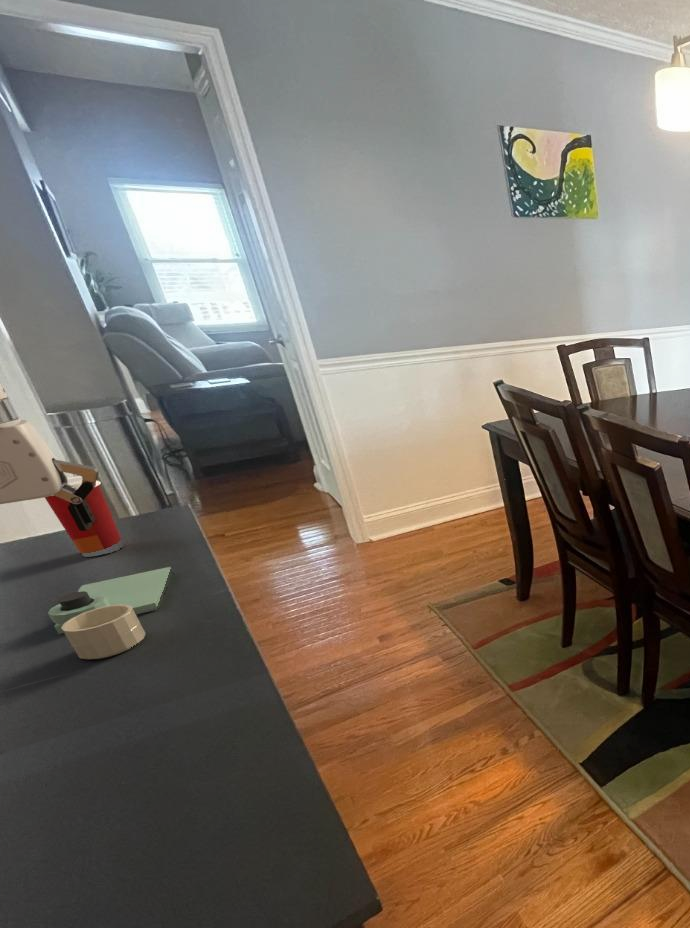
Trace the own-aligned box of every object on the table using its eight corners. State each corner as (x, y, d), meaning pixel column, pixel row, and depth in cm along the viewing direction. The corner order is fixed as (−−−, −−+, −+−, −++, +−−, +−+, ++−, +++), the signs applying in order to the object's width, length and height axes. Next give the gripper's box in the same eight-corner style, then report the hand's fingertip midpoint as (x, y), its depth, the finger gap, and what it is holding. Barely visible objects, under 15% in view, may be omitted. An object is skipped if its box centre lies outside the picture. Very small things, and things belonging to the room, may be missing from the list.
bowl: (73, 668, 79) (54, 637, 77) (86, 644, 84) (69, 614, 82) (142, 650, 83) (125, 620, 81) (150, 628, 88) (135, 599, 86)
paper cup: (125, 539, 118) (92, 471, 112) (136, 548, 113) (101, 479, 108) (69, 553, 112) (31, 483, 106) (78, 564, 108) (38, 492, 102)
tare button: (61, 614, 87) (55, 603, 86) (67, 605, 89) (61, 595, 88) (89, 607, 89) (84, 597, 88) (94, 599, 91) (89, 589, 90)
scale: (53, 637, 86) (42, 619, 85) (81, 593, 98) (72, 577, 97) (158, 611, 92) (150, 595, 91) (173, 573, 104) (166, 558, 102)
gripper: (-152, 433, 70) (-67, 563, 77) (57, 412, 78) (116, 530, 85) (-118, 421, 75) (-41, 542, 82) (74, 402, 84) (128, 514, 91)
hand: (39, 536), depth 84 cm, fingers open, 9 cm apart
